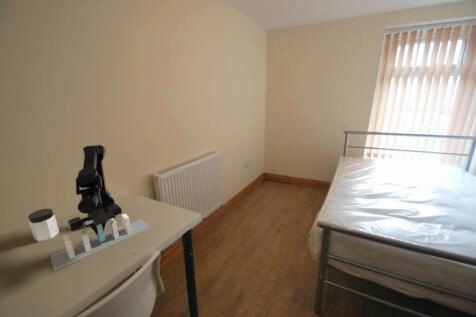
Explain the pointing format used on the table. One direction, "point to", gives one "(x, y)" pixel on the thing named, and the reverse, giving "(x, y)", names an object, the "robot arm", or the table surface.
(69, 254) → the domino
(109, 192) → the robot arm
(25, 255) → the table surface
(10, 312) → the table surface
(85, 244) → the domino
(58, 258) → the runner mat
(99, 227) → the domino
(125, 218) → the domino
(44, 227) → the jar
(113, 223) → the domino
